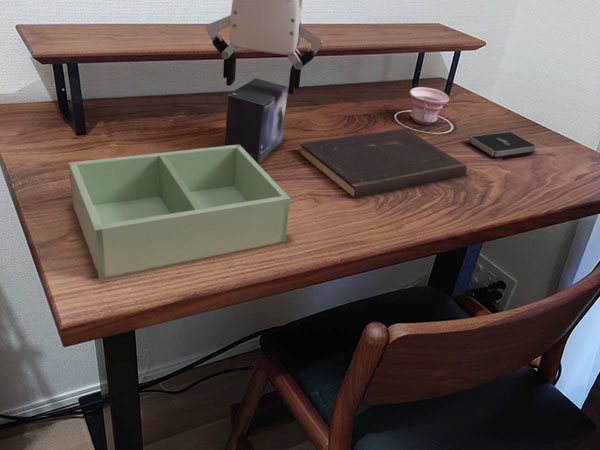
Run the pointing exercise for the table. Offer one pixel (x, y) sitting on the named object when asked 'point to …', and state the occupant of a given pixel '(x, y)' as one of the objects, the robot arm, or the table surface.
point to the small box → (256, 117)
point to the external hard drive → (502, 145)
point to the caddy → (175, 207)
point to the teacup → (426, 106)
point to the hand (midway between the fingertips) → (261, 87)
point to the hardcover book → (381, 162)
